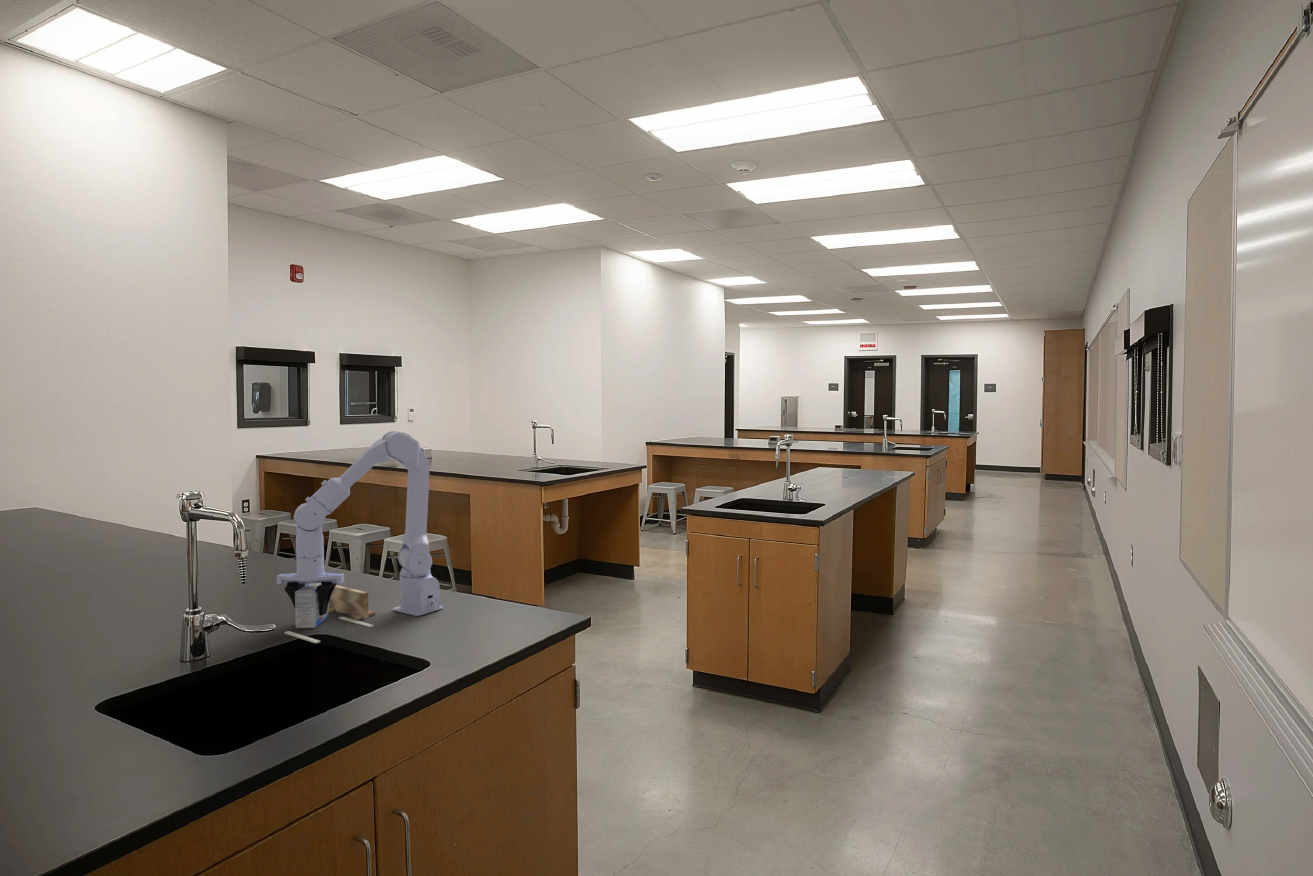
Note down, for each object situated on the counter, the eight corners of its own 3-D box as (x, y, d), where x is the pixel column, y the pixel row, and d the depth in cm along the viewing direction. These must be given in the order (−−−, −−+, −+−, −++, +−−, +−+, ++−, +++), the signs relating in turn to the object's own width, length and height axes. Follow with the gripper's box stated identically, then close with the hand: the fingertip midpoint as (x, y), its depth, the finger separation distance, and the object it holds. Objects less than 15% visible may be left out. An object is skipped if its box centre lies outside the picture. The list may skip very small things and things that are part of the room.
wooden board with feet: (375, 615, 173) (375, 590, 173) (356, 620, 169) (356, 595, 169) (340, 606, 181) (340, 582, 181) (322, 611, 177) (321, 587, 176)
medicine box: (315, 628, 163) (314, 590, 162) (294, 628, 163) (294, 590, 162) (328, 618, 171) (328, 582, 170) (309, 618, 171) (309, 582, 170)
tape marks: (373, 626, 165) (373, 625, 165) (315, 643, 153) (315, 642, 153) (342, 617, 171) (342, 616, 171) (284, 633, 160) (284, 632, 160)
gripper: (349, 551, 169) (350, 609, 170) (286, 552, 169) (288, 609, 170) (336, 558, 162) (338, 618, 163) (271, 558, 162) (273, 618, 163)
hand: (311, 614), depth 166 cm, fingers open, 5 cm apart
